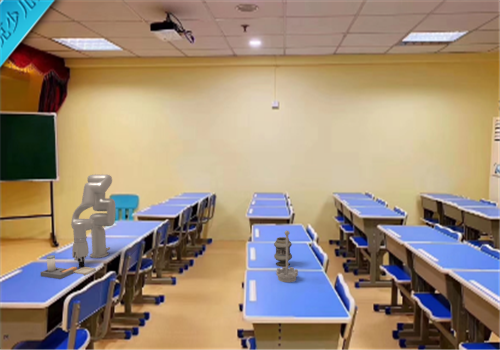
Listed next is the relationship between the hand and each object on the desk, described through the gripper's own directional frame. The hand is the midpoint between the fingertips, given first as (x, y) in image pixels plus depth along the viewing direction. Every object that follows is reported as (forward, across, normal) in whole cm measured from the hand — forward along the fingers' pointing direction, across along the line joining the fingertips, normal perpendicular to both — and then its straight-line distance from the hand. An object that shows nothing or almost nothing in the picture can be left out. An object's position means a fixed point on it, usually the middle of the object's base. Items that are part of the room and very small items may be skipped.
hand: (81, 266), depth 249 cm
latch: (0, +11, 0) cm, 11 cm away
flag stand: (+1, -25, +134) cm, 137 cm away
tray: (+1, +6, +8) cm, 9 cm away
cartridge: (0, +16, -8) cm, 18 cm away
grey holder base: (+1, +16, -4) cm, 17 cm away
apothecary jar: (+1, -50, +125) cm, 135 cm away
